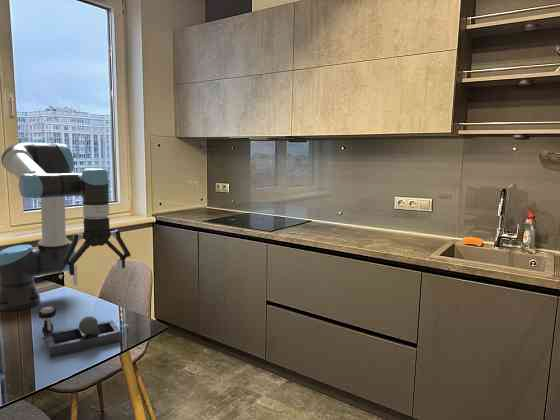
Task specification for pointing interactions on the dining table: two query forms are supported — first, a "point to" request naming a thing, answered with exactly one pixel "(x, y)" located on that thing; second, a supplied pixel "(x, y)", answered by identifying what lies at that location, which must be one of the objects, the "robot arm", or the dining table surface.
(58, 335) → the rectangular frame
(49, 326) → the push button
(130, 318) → the dining table surface
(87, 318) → the light bulb
